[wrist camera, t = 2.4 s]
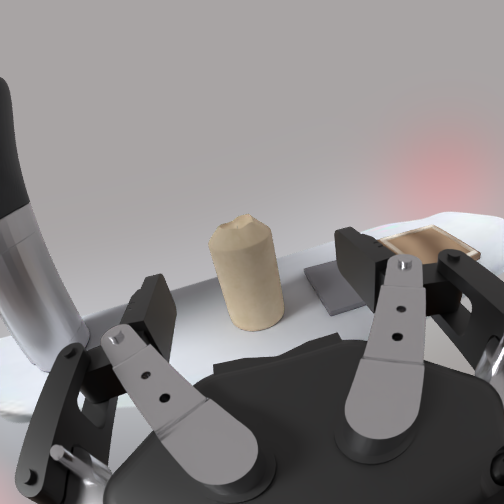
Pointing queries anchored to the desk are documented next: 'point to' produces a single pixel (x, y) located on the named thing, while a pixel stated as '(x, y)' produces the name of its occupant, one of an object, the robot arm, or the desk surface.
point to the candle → (248, 273)
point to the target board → (426, 244)
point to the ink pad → (333, 288)
